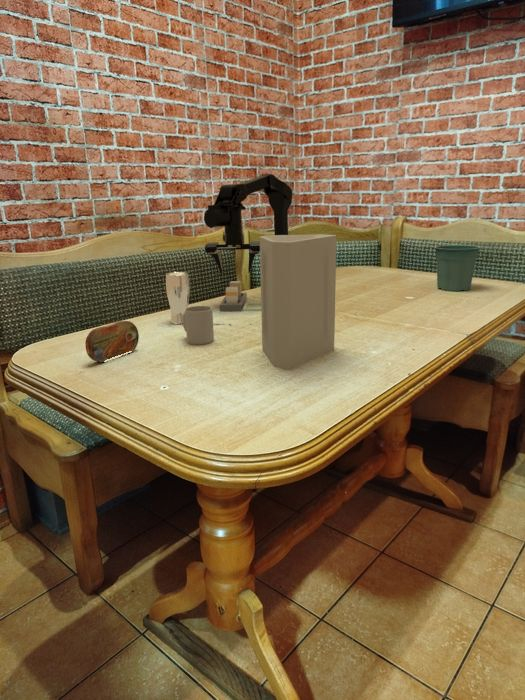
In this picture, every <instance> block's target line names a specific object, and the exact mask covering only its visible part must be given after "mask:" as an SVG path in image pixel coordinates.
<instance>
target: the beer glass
mask: <svg viewBox="0 0 525 700" xmlns="http://www.w3.org/2000/svg"><path fill="white" fill-rule="evenodd" d="M165 291H166V296H167V299H168V303H169V304H168V305H169V308H170V322H169V323H170V324H172V323H177V324H176V325H181V324H180V323H183V314H184V313H185V309H186V308H188V307H189V300H190V280H189V274H188V272H185V271H171V272H167V273H166V274H165Z"/></svg>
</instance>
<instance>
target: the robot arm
mask: <svg viewBox="0 0 525 700" xmlns="http://www.w3.org/2000/svg"><path fill="white" fill-rule="evenodd" d="M261 190H262V192H263V194H264V195H266V197H267V198H268V204H269V206H270V209H272V211H273V224H274V227H273V228H274V230H273V231H274V235H289V219H288V217H289V216H288V212H289V209H290V207H291V206H292V203H293V189H292V188H291V186H290V185H289V184H287V183H286V182H284V181H283V180H281V179H279V178H278V177H276V176H275V175H274V174H272V173H264V174H261V175H259V176H256V177H254V178H251V179H249V180H246V181H243V182H240V183H230V184H229V183H228V184H223V185H221V186H220V190H219V192H218V195H217V196H216V199H215V201H214V203H213V204H208V205H207V210H206V211H205V213H204V215H203V221H204V223H205V225H206V227H208V228H209V229H213V228H222V227H224V231H223V232H222V242H224V244H220V243H219V242H218V241H215V242H213V241H212V242H211V241H210V242H207V243H205V245H204V252H205V254H209V256H211V257H213V259H214V262H215V264H216V265H217V267H218V269H219V271H220V274H221V275H222V274H223V273H224V271H223V263H222V256H221V251H235V250H238V251H239V250H241V251H242V250H249V255H248V268H247V269H248V274H251V270H252V267H253V261H254V259H255V256H256V255H260V240H251V241H250V242H249V243H245V239H244V233H243V220H242V219H243V217H242V211H245V210H246V208H247V207H246V206H245V205H243V204H242V202H244V201H245V200H246V199H247V198H248V196H249V195H252V194H254V193H256V192H258V191H261Z"/></svg>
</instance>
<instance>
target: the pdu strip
mask: <svg viewBox="0 0 525 700" xmlns="http://www.w3.org/2000/svg"><path fill="white" fill-rule="evenodd" d="M229 287H238V303H226V295H225V296H224V298H223V299H222V301H221V302H220V304H219V312H222V313H224V312H228V313H229V312H230V313H231V312H232V313H233V312H237V313H238V312H239V313H240V312H243V307H244V305H245V303H247V302H246V301H247V299H248V293H247V292H242V281H239V280H235V281H232V280H231V281H230V282H229Z"/></svg>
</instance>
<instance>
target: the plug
mask: <svg viewBox="0 0 525 700" xmlns="http://www.w3.org/2000/svg"><path fill="white" fill-rule="evenodd" d="M225 296H226V303H238V287H230V286H227V287H226V288H225Z"/></svg>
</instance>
